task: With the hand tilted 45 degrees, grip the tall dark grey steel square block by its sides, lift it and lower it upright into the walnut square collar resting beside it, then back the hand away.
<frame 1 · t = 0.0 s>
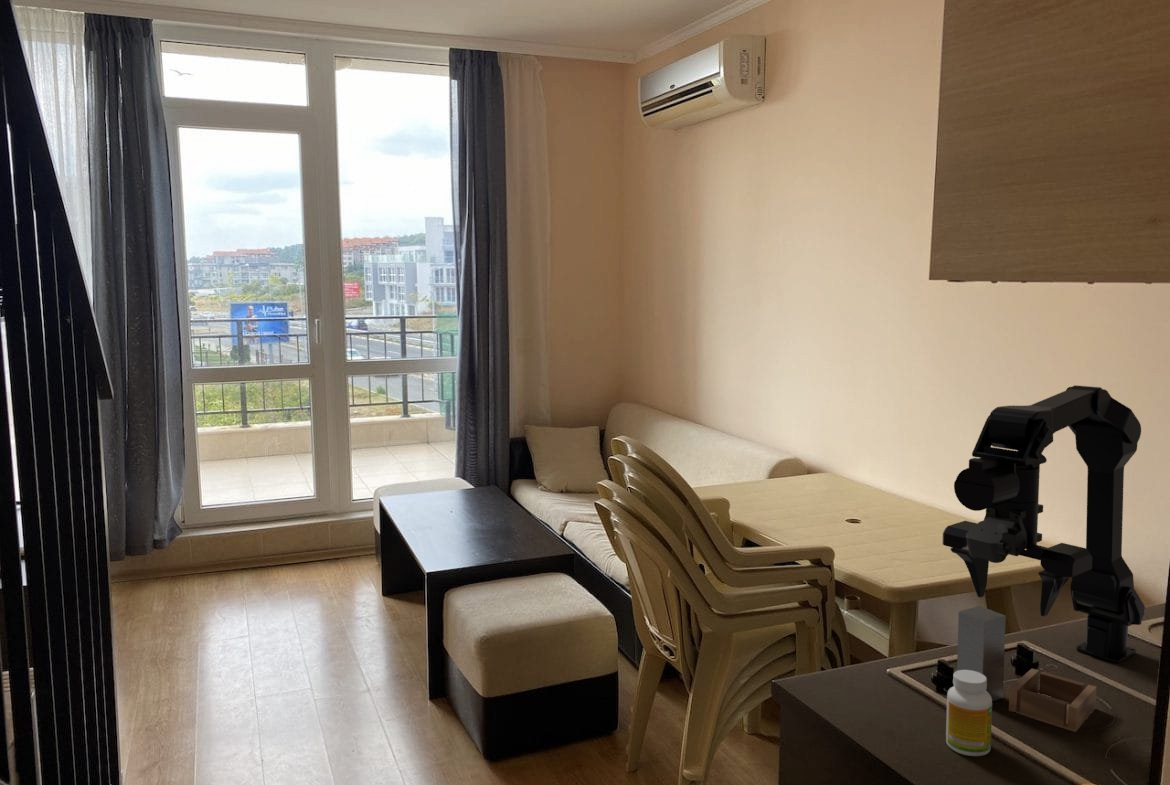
hand: (1011, 606, 123), 15 cm above the table, tool pointing down, fingers open, 9 cm apart
supplement bottle: (968, 748, 114), on the table
walnut collar: (1052, 711, 123), on the table
steel square block: (979, 695, 128), on the table
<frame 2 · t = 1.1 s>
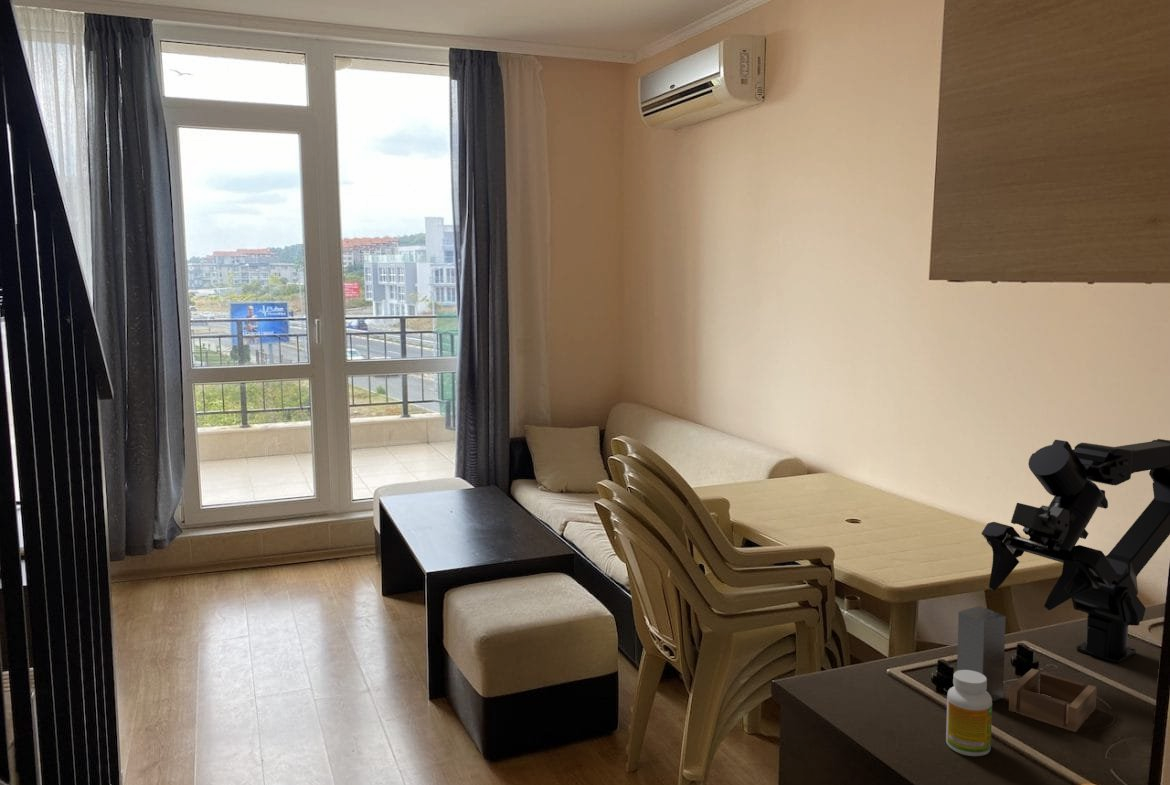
hand: (1018, 598, 129), 13 cm above the table, tool tilted 45°, fingers open, 9 cm apart
nothing on the table moved.
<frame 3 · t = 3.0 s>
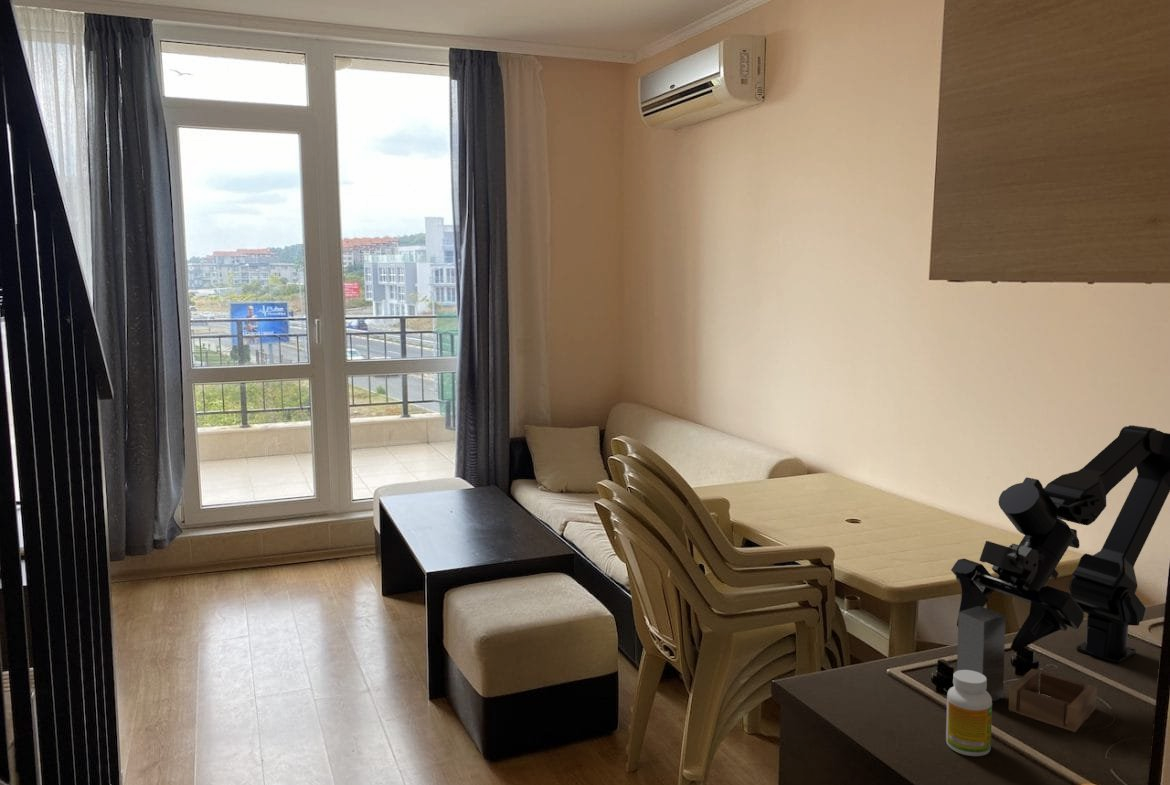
hand: (985, 638, 127), 9 cm above the table, tool tilted 45°, fingers open, 9 cm apart
nothing on the table moved.
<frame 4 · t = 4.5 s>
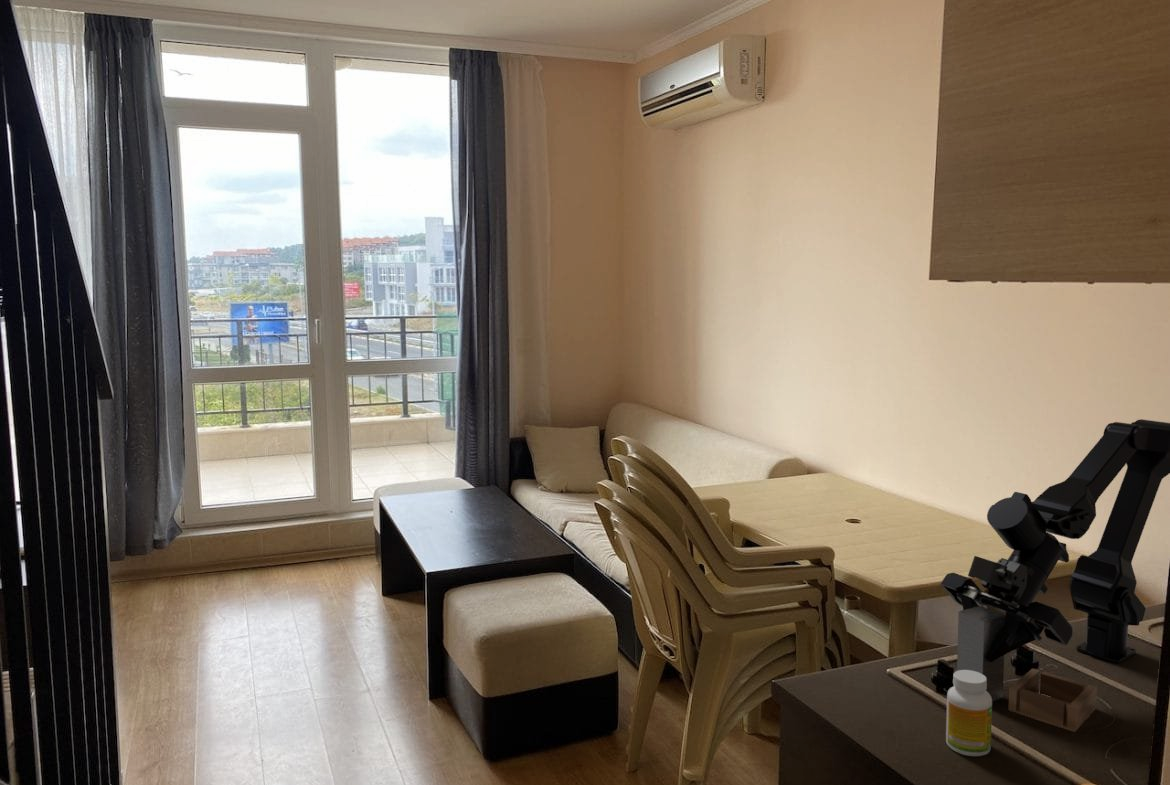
hand: (973, 654, 126), 7 cm above the table, tool tilted 45°, fingers closed on steel square block, 4 cm apart
steel square block: (979, 695, 128), on the table, touching gripper
everything else where it was.
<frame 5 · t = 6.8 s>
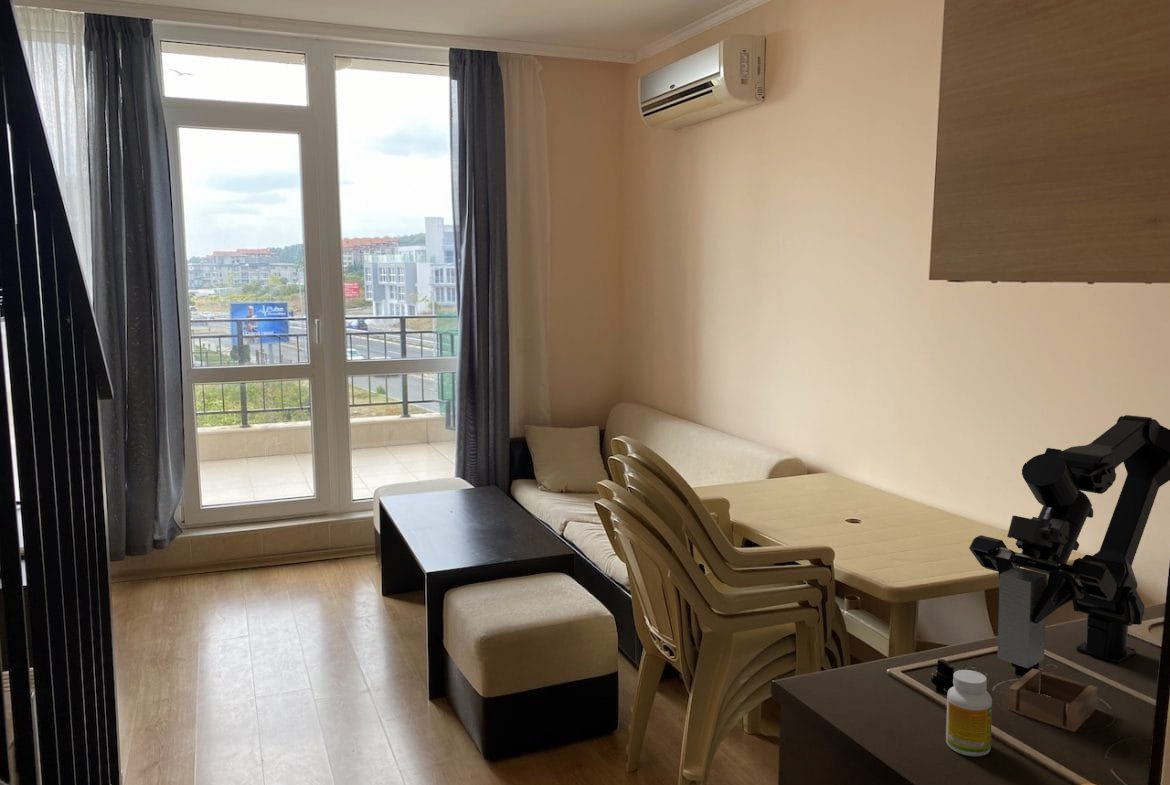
hand: (1017, 616, 122), 13 cm above the table, tool tilted 45°, fingers closed on steel square block, 4 cm apart
steel square block: (1020, 658, 124), point 7 cm above the table, touching gripper
everything else where it was.
when the fingers open (8 cm above the table, at t = 8.9 s): steel square block stays where it is, resting on walnut collar.
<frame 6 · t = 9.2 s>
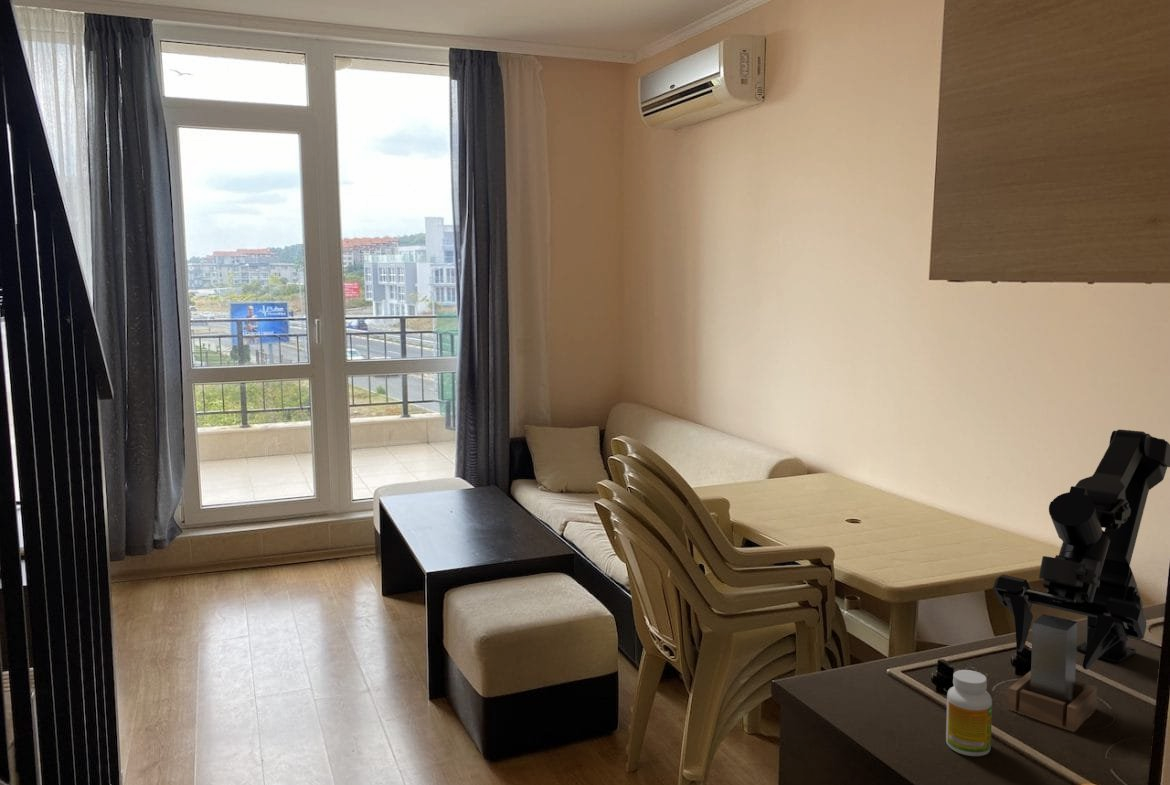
hand: (1050, 659, 121), 8 cm above the table, tool tilted 45°, fingers open, 8 cm apart
walnut collar: (1052, 711, 123), on the table, touching steel square block
steel square block: (1051, 707, 123), resting on walnut collar
everything else where it was.
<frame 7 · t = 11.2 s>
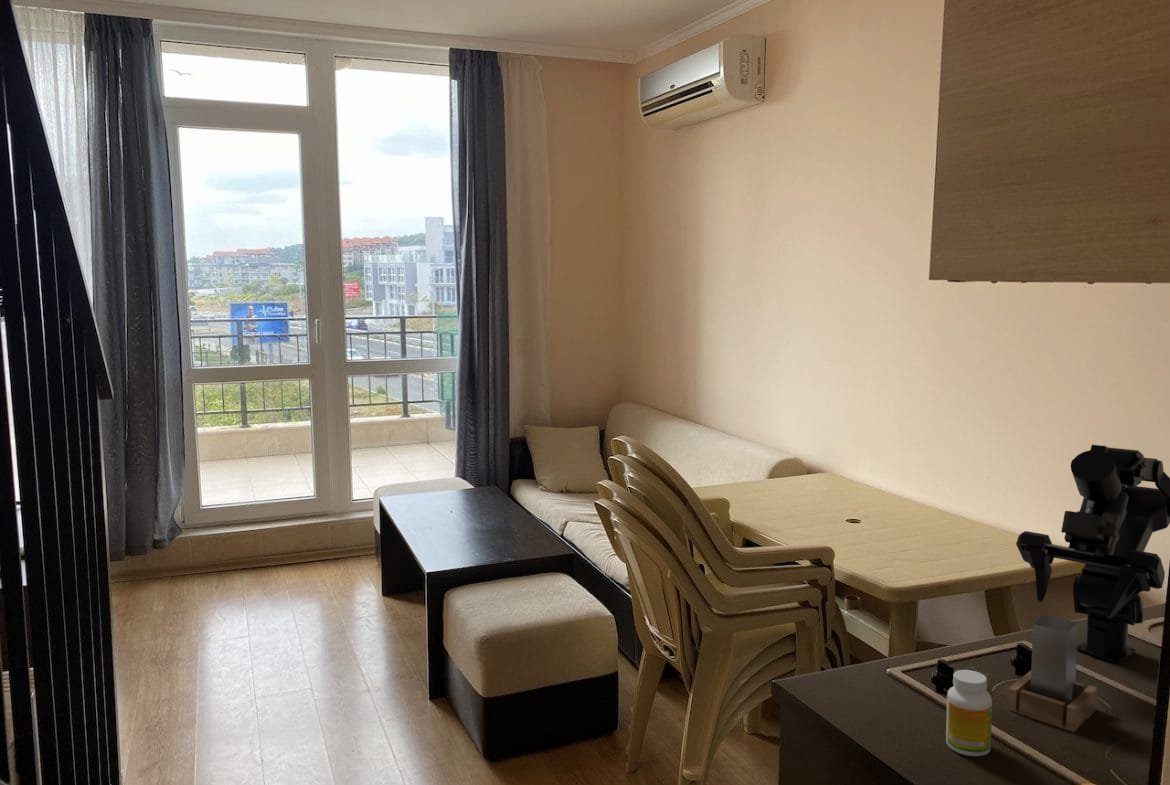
hand: (1073, 608, 127), 13 cm above the table, tool tilted 45°, fingers open, 9 cm apart
nothing on the table moved.
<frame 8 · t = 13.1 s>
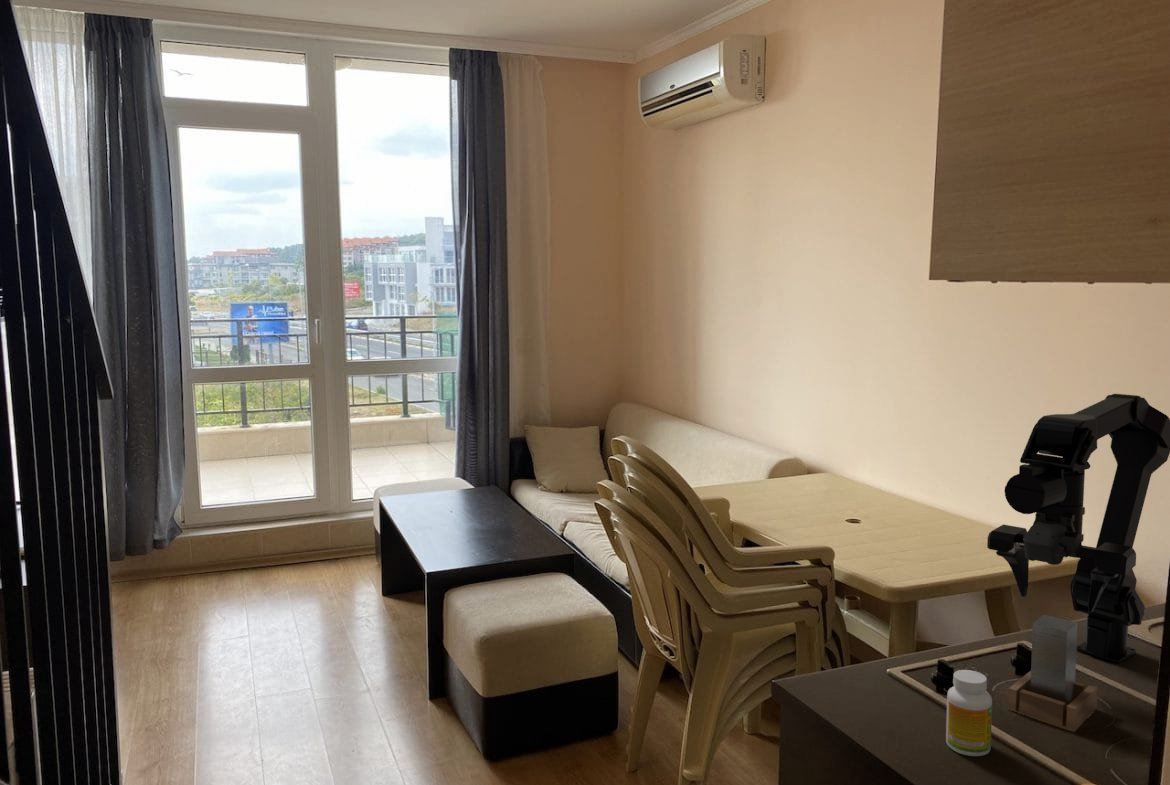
hand: (1056, 603, 130), 12 cm above the table, tool pointing down, fingers open, 9 cm apart
walnut collar: (1052, 712, 123), on the table
steel square block: (1051, 707, 123), resting on walnut collar
everything else where it was.
at the end: steel square block 0.1 cm off-centre on the walnut collar, point 0.6 cm above the walnut collar's base; steel square block tilted 0°; the gripper is holding nothing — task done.
